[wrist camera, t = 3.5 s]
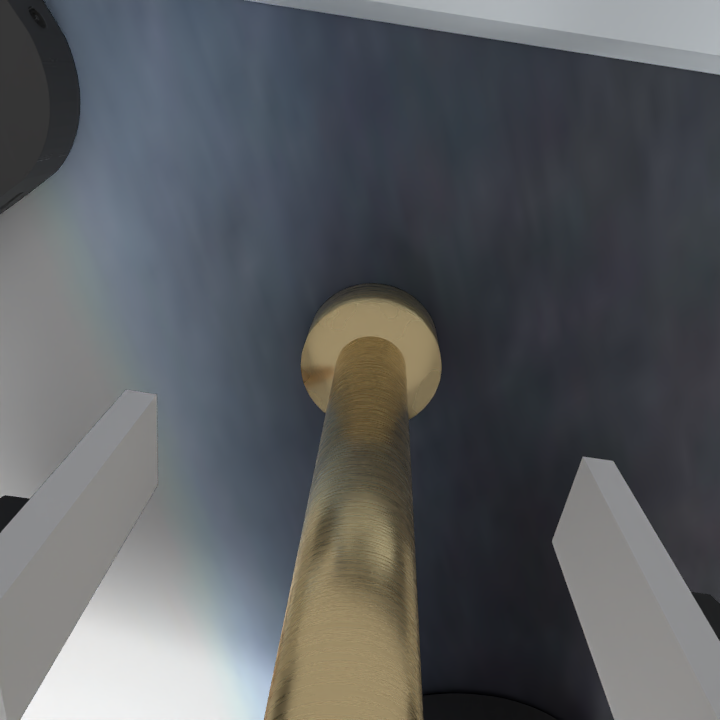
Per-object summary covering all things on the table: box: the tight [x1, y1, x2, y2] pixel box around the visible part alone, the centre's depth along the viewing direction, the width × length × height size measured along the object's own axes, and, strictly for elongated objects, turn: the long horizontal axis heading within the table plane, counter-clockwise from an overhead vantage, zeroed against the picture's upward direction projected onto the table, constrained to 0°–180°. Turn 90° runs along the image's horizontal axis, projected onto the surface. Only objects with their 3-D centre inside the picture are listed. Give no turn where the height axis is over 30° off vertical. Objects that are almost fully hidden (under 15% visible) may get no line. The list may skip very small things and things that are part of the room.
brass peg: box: [264, 283, 441, 720], centre depth 14 cm, size 5×5×18 cm
